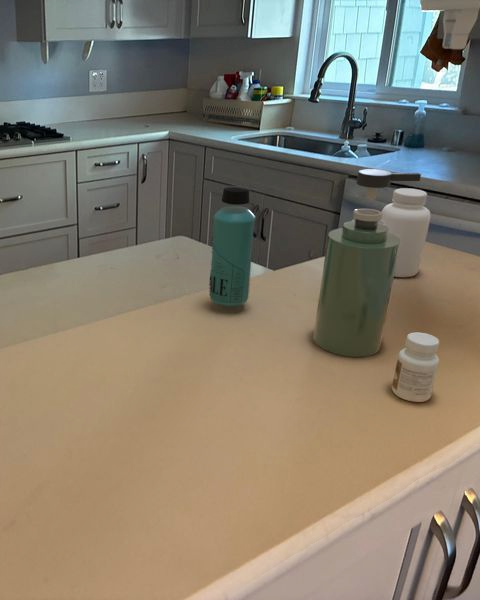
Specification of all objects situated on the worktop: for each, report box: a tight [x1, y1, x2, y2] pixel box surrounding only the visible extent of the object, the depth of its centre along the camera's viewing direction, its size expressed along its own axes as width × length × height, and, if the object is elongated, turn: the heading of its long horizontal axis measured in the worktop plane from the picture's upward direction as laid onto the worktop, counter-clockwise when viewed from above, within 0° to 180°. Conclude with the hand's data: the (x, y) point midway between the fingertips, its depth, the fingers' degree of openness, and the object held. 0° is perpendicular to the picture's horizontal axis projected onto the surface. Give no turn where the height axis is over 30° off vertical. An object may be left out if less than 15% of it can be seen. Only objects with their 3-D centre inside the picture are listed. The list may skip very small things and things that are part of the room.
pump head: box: [355, 168, 422, 201], centre depth 80 cm, size 8×4×4 cm, turn 82°
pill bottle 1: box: [381, 187, 432, 278], centre depth 111 cm, size 8×8×15 cm
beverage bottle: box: [208, 185, 256, 307], centre depth 98 cm, size 6×7×20 cm
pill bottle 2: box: [391, 331, 440, 403], centre depth 75 cm, size 4×4×8 cm
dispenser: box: [312, 208, 401, 358], centre depth 86 cm, size 9×9×20 cm
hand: (453, 48), depth 80 cm, fingers closed
